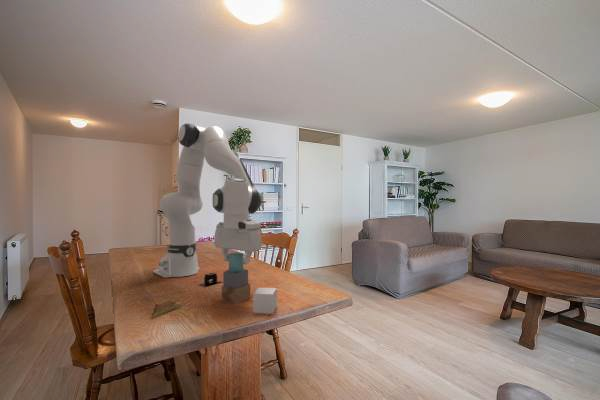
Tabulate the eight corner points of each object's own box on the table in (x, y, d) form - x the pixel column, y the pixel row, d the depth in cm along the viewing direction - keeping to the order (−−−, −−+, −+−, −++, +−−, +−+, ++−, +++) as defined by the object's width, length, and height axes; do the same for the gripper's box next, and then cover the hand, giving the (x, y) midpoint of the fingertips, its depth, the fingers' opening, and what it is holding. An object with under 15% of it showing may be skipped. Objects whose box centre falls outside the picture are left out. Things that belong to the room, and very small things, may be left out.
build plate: (218, 280, 123) (218, 269, 123) (228, 282, 118) (228, 272, 118) (192, 286, 113) (192, 275, 113) (202, 290, 108) (202, 278, 108)
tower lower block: (221, 300, 96) (221, 285, 96) (236, 294, 102) (236, 281, 102) (236, 304, 92) (236, 289, 92) (250, 297, 98) (250, 283, 98)
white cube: (276, 306, 90) (276, 288, 90) (272, 314, 84) (272, 294, 84) (258, 305, 90) (258, 287, 90) (253, 313, 84) (253, 293, 84)
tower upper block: (223, 285, 96) (223, 271, 96) (235, 281, 101) (235, 268, 101) (236, 288, 93) (236, 273, 93) (248, 283, 98) (248, 269, 98)
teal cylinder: (225, 271, 96) (225, 254, 96) (236, 268, 100) (236, 252, 100) (236, 273, 93) (235, 255, 94) (246, 270, 98) (246, 253, 98)
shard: (151, 320, 80) (151, 314, 80) (135, 315, 84) (135, 309, 84) (182, 308, 90) (182, 302, 90) (167, 304, 93) (167, 298, 93)
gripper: (209, 222, 100) (209, 260, 100) (251, 224, 89) (251, 267, 89) (223, 221, 106) (223, 257, 105) (264, 223, 94) (264, 263, 94)
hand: (236, 262), depth 97 cm, fingers open, 8 cm apart
